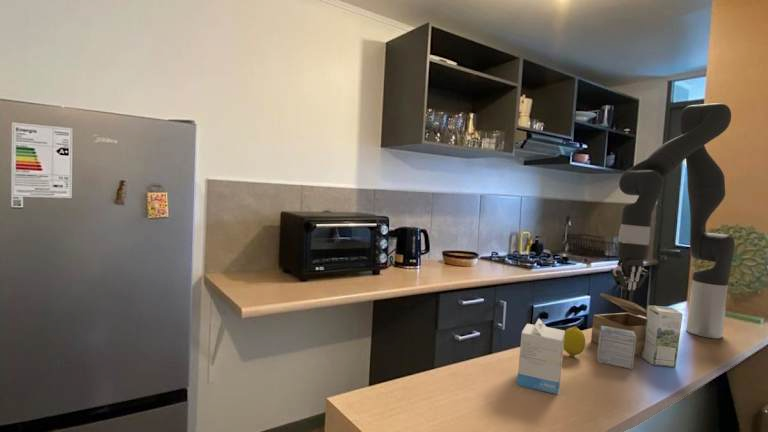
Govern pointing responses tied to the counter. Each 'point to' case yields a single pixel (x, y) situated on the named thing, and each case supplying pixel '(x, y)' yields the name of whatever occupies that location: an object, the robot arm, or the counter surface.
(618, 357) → the medicine box
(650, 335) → the syrup box
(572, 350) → the lemon
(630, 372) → the counter surface
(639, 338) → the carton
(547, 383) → the ink box
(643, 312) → the lid flap
